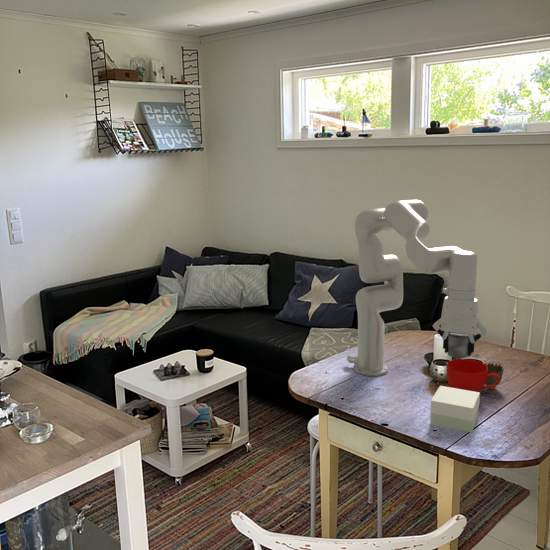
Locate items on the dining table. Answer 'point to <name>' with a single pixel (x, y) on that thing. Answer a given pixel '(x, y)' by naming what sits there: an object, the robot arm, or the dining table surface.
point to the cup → (493, 370)
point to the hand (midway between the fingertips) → (458, 352)
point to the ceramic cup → (468, 375)
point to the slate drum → (458, 345)
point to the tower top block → (455, 403)
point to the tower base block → (453, 422)
